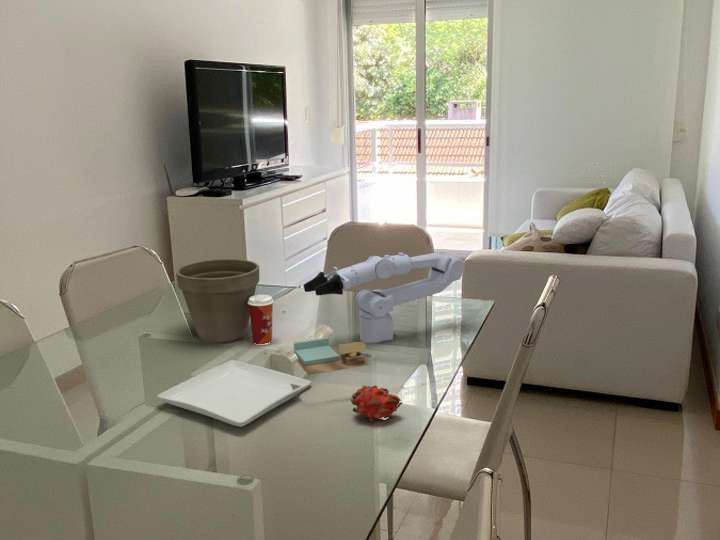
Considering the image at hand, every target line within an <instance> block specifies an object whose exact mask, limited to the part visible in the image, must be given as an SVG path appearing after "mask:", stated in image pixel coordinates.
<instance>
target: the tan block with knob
mask: <svg viewBox="0 0 720 540" xmlns="http://www.w3.org/2000/svg"><path fill="white" fill-rule="evenodd" d="M366 344H367V343H366V342H363V341H361V340H359V341H355V342H349V343H340V344H338V346H339V352H340V353H341V354H346V353H348V357H355V356H357V352H363V351H366V346H367V345H366Z"/></svg>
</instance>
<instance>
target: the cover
mask: <svg viewBox="0 0 720 540" xmlns="http://www.w3.org/2000/svg"><path fill="white" fill-rule="evenodd" d="M329 344H330V343H329V337H327V336H326V337H321V338H320V337H319V338H315V339H314V338H313V339H306V340H300V341H294V342H293V353H295V354H296V355H297V357H298V358H299V359H300V360H301V362H302V363H303V364H304V365H311V364H318V363H324V362H330V361H336V360H340V356H339V355H338V354H337V353H336V352H335V351H334V350H333V349H332V348H331V347H332V346H330V345H329Z"/></svg>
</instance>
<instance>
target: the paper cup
mask: <svg viewBox="0 0 720 540" xmlns="http://www.w3.org/2000/svg"><path fill="white" fill-rule="evenodd" d="M274 302H275V300H274V299H273V297H272V295H269V294H254V296H251V297H250V298H249V301H248V304H249V311H250V319H249V321H250V326H251V335H252V336H251V337H252V342H253V343H252V344H254V343H256V344H265V343H269V342H271V341H273V306H274V305H273V303H274ZM271 343H272V342H271Z"/></svg>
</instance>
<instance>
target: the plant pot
mask: <svg viewBox="0 0 720 540" xmlns="http://www.w3.org/2000/svg"><path fill="white" fill-rule="evenodd" d="M175 275H176V282H177V287H178V289H180V290H181V292H182V295H183V298H184V300H185V304H186V305H187V308H188V312H189V316H190V318H191V320H192V323H193V327H194V329H195V331H196V334H197V336H198V338H199V339H200V340H202V341H203V342H207V343H217V344H218V343H219V344H220V343H221V344H222V343H230V342H233V341H237V340H239V339H242V338H243V337H245V336H246V334H247V331H248V326H249V323H250V311H249V304H248V301H249V298H250V297H251V296H254V295H256V290H257V289H256V288H257V285H258V284H259V283H260V265H259V264H258V263H257V262H254V261H252V260H246V259H239V258H217V259H205V260H200V261H193V262H191V263H186V264H185V265H181V266H180V267H178V268H177V269H176V271H175Z"/></svg>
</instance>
